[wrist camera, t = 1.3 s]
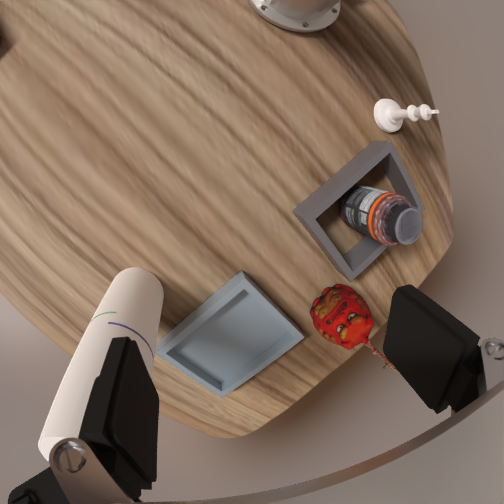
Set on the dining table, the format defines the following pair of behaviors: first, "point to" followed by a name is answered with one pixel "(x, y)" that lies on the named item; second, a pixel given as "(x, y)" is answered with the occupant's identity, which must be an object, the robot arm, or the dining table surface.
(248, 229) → the dining table surface
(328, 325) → the red clay folk toy
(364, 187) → the supplement bottle
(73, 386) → the cylindrical container
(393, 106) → the chess piece
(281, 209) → the dining table surface
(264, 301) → the tray
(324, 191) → the dock
